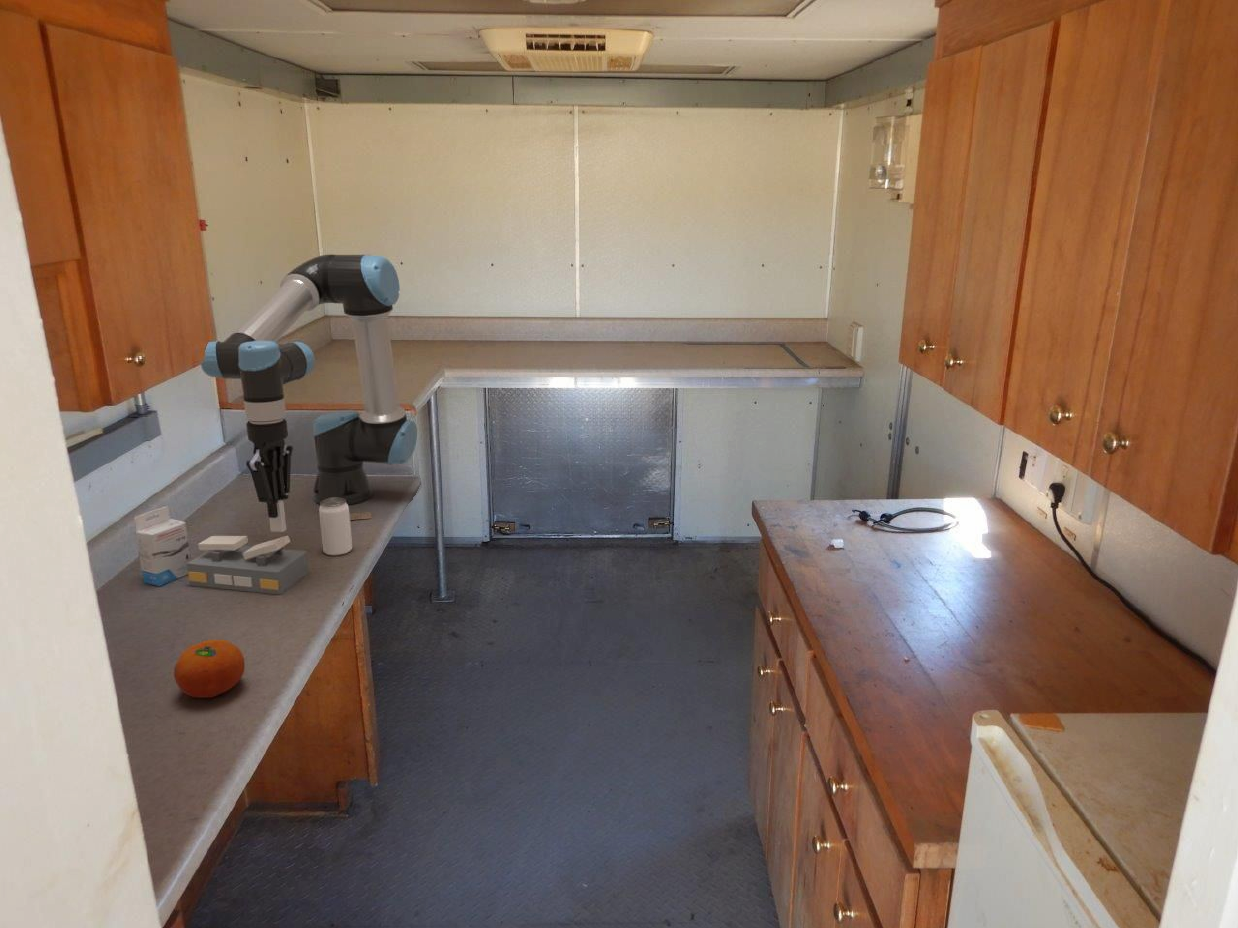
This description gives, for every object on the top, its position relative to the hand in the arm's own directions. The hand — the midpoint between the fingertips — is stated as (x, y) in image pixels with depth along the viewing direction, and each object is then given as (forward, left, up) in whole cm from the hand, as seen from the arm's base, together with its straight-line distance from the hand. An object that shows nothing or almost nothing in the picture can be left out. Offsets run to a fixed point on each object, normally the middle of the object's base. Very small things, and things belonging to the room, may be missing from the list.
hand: (278, 530), depth 181 cm
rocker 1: (0, -14, -6) cm, 15 cm away
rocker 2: (0, -3, -6) cm, 6 cm away
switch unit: (0, -8, -12) cm, 15 cm away
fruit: (+40, +11, -12) cm, 43 cm away
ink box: (+3, -26, -12) cm, 29 cm away
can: (-18, +2, -12) cm, 22 cm away
